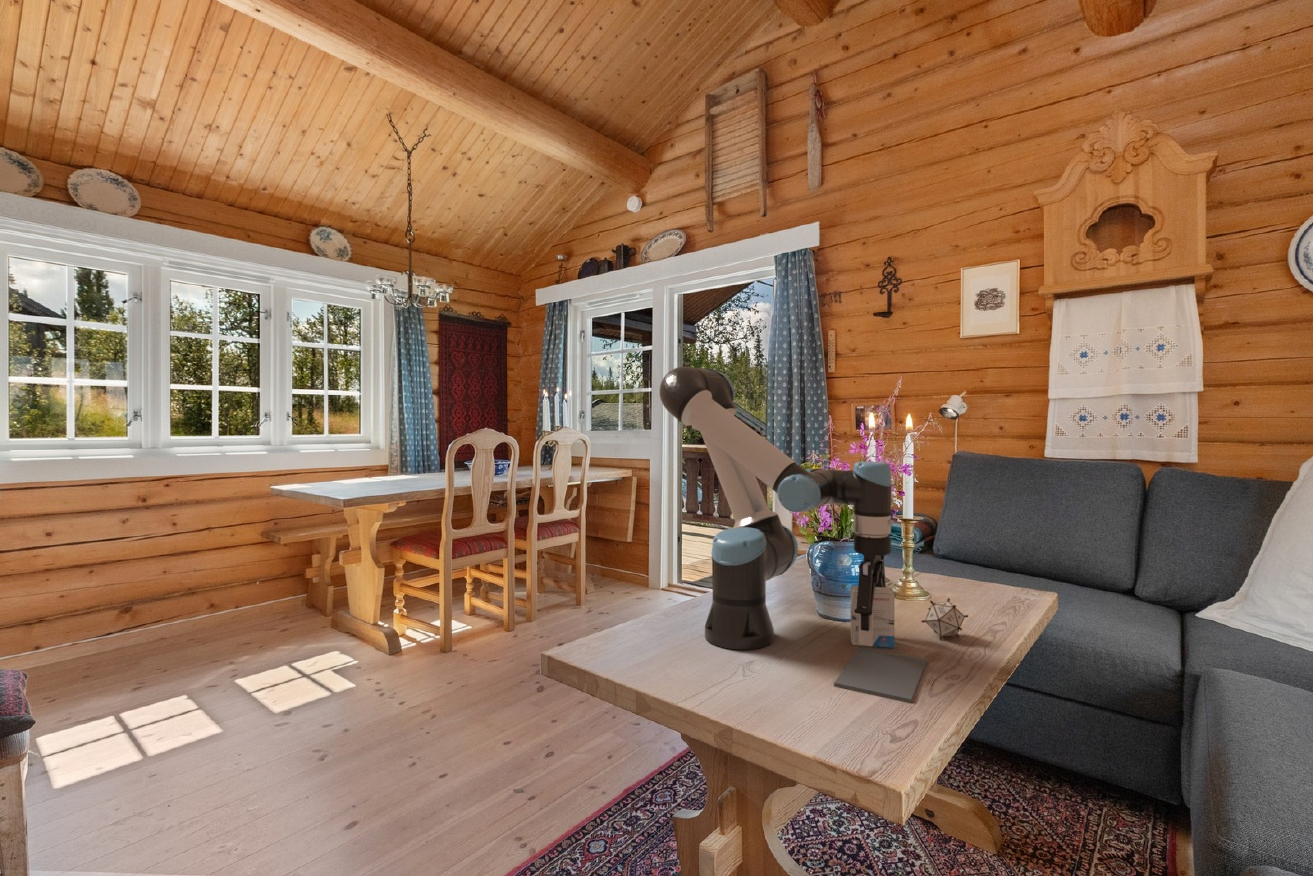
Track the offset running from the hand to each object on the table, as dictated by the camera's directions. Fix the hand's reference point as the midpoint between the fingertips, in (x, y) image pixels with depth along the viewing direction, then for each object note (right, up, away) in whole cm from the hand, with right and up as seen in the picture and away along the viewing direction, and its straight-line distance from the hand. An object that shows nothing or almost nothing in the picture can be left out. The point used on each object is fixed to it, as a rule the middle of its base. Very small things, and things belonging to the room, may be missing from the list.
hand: (871, 636), depth 131 cm
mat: (-3, -2, -15) cm, 16 cm away
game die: (+17, -2, +4) cm, 18 cm away
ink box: (0, -2, 0) cm, 2 cm away
